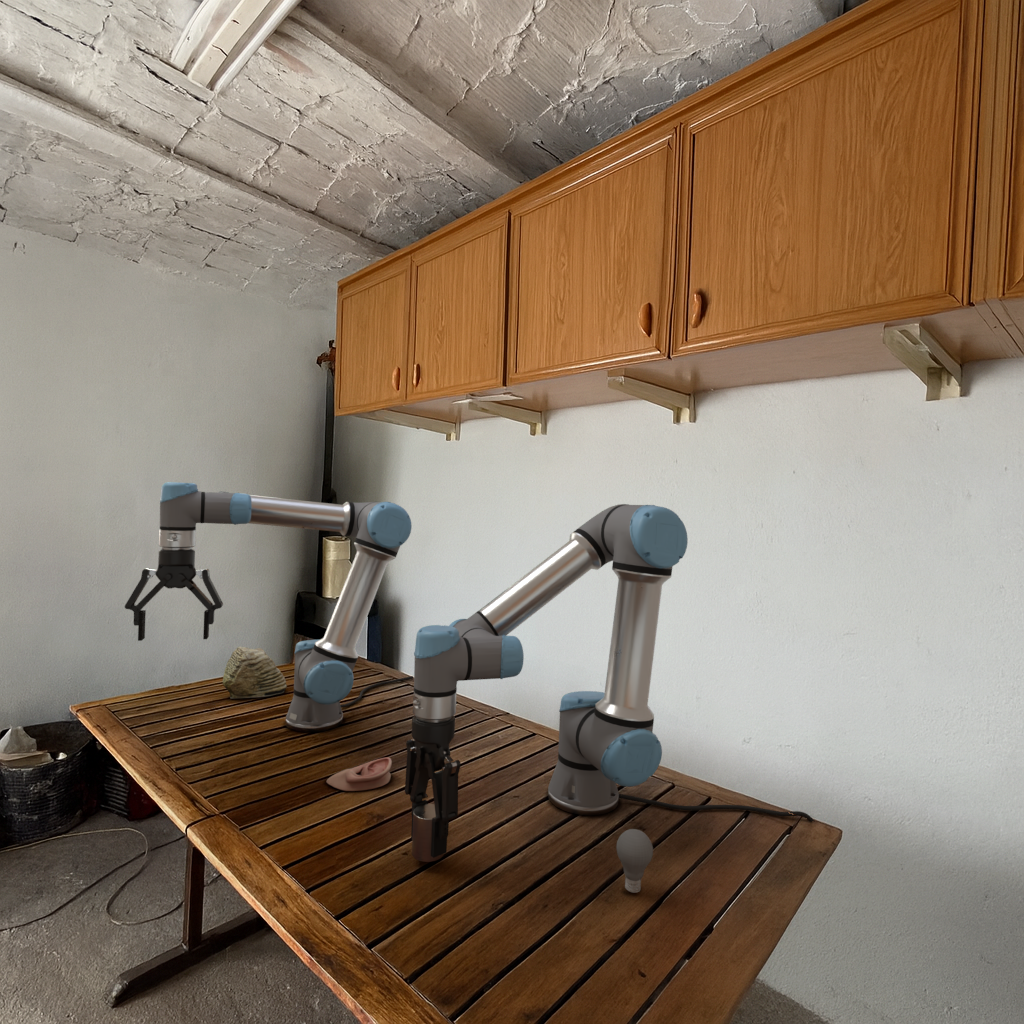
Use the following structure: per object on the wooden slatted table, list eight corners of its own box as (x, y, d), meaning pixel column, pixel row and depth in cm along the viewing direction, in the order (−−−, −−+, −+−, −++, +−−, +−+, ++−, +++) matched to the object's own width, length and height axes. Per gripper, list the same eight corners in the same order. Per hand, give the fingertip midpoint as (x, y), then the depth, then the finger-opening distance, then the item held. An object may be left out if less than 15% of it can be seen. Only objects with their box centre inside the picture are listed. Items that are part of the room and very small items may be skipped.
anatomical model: (320, 769, 137) (344, 749, 149) (319, 787, 138) (343, 766, 149) (377, 777, 135) (397, 756, 146) (376, 795, 135) (397, 773, 146)
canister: (444, 861, 109) (446, 818, 109) (411, 862, 108) (413, 819, 108) (443, 843, 115) (445, 803, 114) (412, 844, 114) (413, 803, 114)
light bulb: (610, 879, 108) (613, 822, 108) (644, 879, 109) (647, 822, 109) (619, 902, 102) (622, 840, 102) (655, 901, 103) (658, 840, 103)
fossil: (218, 695, 195) (220, 647, 195) (278, 685, 208) (279, 640, 207) (228, 703, 189) (230, 653, 188) (289, 692, 201) (290, 645, 201)
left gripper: (111, 548, 141) (108, 643, 141) (233, 550, 148) (229, 641, 148) (121, 545, 148) (118, 636, 148) (236, 547, 155) (233, 634, 155)
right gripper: (388, 704, 116) (382, 830, 116) (447, 736, 102) (441, 879, 102) (422, 697, 121) (417, 818, 121) (483, 726, 106) (477, 863, 107)
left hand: (174, 638), depth 148 cm, fingers open, 13 cm apart
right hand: (428, 845), depth 111 cm, fingers closed on canister, 6 cm apart
